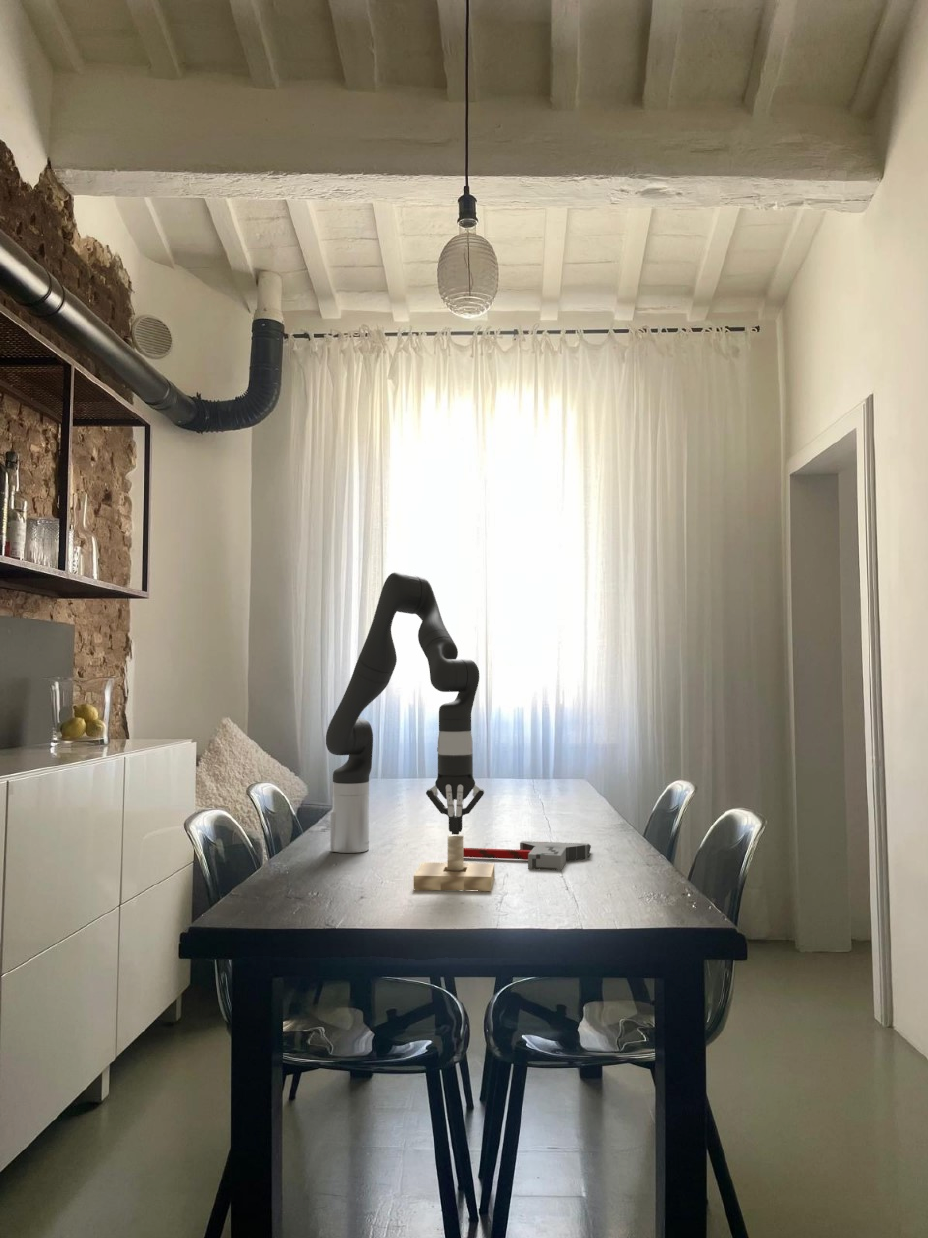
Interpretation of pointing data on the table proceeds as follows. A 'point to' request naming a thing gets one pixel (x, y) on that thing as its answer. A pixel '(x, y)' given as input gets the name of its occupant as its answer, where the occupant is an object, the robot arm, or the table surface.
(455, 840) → the peg
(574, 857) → the toy hammer
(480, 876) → the board
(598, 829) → the table surface
